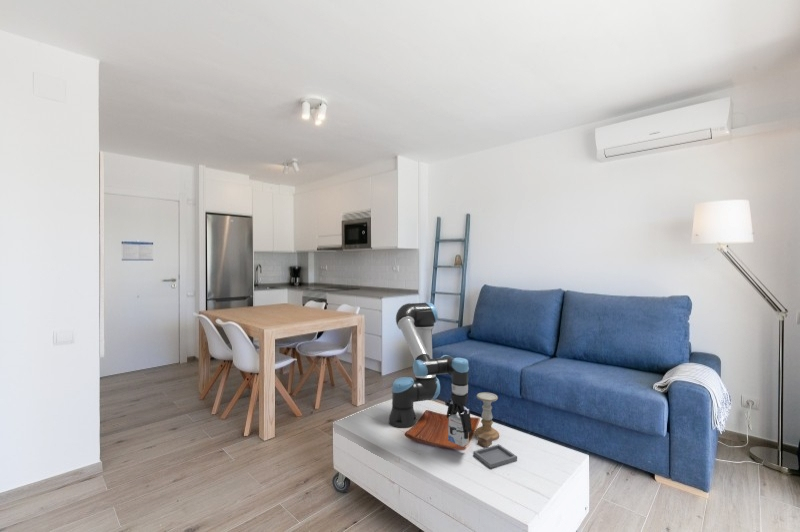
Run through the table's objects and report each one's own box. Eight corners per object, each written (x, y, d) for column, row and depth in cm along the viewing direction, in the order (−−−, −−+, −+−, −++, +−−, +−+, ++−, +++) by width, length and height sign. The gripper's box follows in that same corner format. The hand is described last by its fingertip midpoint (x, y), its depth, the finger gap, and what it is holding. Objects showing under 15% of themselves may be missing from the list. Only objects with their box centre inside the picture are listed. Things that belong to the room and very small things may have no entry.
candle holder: (501, 432, 192) (502, 394, 192) (496, 443, 182) (496, 402, 181) (478, 427, 198) (478, 390, 198) (471, 437, 187) (472, 397, 187)
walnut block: (477, 444, 180) (477, 436, 180) (482, 440, 184) (482, 432, 184) (486, 448, 177) (486, 440, 177) (491, 444, 181) (492, 436, 181)
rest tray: (473, 455, 170) (473, 451, 170) (498, 448, 177) (498, 444, 177) (490, 469, 159) (490, 464, 159) (517, 460, 166) (517, 456, 166)
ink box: (447, 440, 174) (448, 416, 173) (453, 436, 178) (454, 412, 177) (463, 447, 168) (463, 422, 168) (468, 443, 172) (469, 418, 171)
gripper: (439, 385, 180) (438, 430, 181) (467, 402, 160) (465, 453, 161) (452, 383, 183) (451, 427, 184) (481, 400, 164) (479, 449, 165)
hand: (458, 439), depth 173 cm, fingers closed on ink box, 9 cm apart
